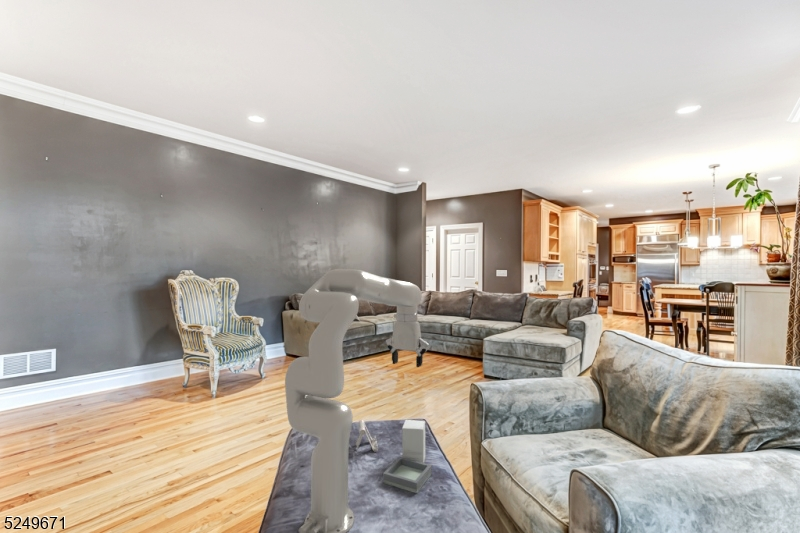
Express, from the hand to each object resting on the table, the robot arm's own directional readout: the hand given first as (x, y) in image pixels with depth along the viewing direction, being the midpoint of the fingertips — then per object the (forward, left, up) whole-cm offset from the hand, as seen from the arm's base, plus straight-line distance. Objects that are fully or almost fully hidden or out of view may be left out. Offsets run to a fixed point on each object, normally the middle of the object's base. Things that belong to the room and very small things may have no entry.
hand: (406, 364), depth 138 cm
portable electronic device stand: (-5, +14, -31) cm, 35 cm away
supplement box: (-6, -6, -31) cm, 32 cm away
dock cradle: (-17, -9, -31) cm, 36 cm away
